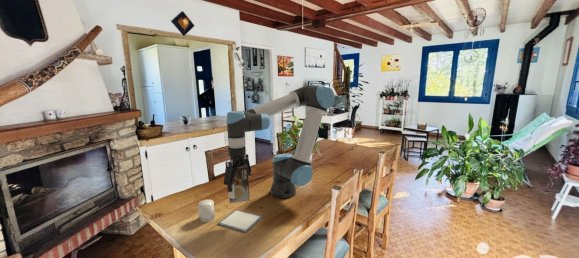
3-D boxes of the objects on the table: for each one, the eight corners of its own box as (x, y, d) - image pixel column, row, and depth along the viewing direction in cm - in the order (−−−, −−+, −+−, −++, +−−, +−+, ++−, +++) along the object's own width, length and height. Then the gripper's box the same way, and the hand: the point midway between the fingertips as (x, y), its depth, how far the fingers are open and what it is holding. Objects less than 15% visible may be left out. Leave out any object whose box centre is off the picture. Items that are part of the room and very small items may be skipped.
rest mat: (236, 210, 126) (236, 209, 125) (263, 217, 119) (263, 216, 119) (217, 224, 113) (217, 223, 113) (246, 233, 106) (246, 231, 106)
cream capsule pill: (206, 213, 123) (205, 198, 121) (217, 216, 120) (216, 201, 118) (196, 220, 117) (194, 204, 115) (207, 224, 114) (206, 208, 112)
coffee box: (248, 194, 118) (247, 162, 115) (249, 201, 112) (248, 167, 109) (228, 197, 116) (227, 164, 113) (229, 203, 110) (227, 169, 107)
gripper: (244, 140, 121) (246, 182, 125) (212, 151, 101) (215, 202, 105) (257, 141, 118) (259, 185, 122) (227, 153, 97) (229, 205, 102)
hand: (239, 193), depth 113 cm, fingers closed on coffee box, 10 cm apart
